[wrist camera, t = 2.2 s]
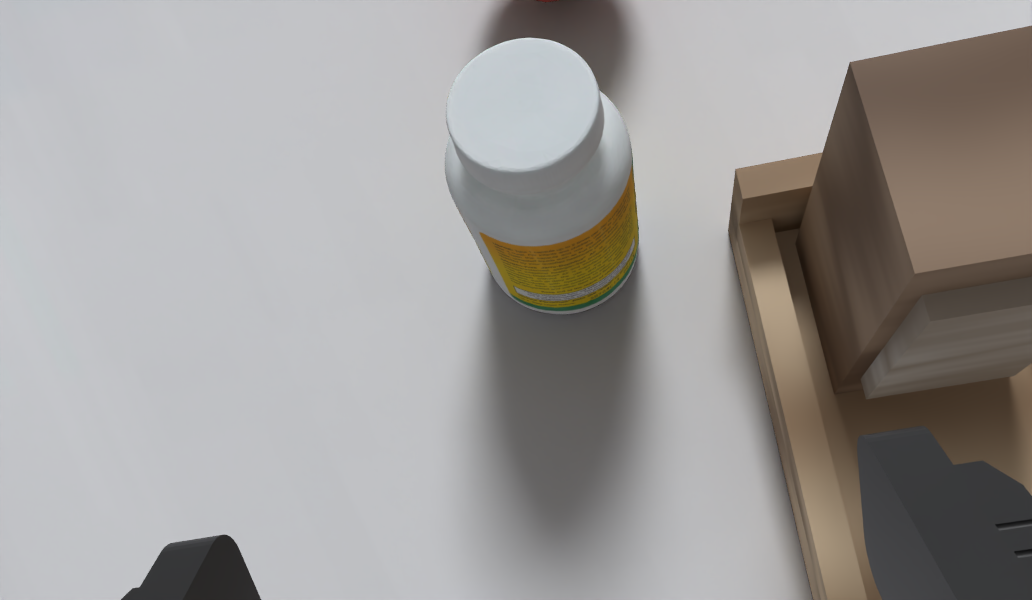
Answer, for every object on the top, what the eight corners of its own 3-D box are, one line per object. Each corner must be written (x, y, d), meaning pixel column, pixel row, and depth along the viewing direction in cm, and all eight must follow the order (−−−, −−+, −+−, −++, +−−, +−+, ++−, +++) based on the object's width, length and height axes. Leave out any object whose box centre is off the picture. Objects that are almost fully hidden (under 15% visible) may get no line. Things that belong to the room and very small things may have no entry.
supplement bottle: (460, 244, 32) (377, 101, 24) (572, 152, 33) (532, -23, 24) (555, 351, 30) (504, 238, 22) (673, 250, 31) (671, 99, 22)
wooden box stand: (1169, 707, 24) (1557, 773, 13) (846, 744, 25) (968, 832, 14) (985, 183, 30) (1154, -61, 19) (727, 230, 31) (753, 22, 20)
